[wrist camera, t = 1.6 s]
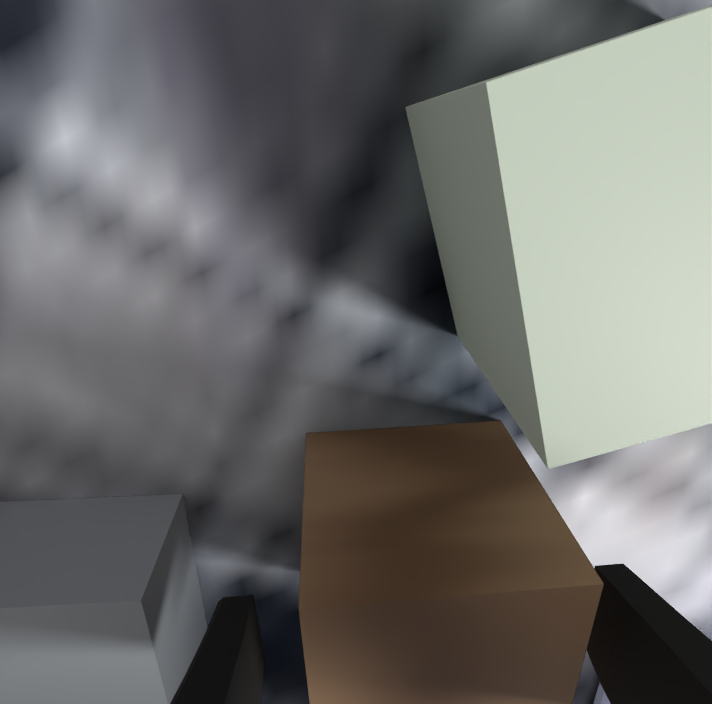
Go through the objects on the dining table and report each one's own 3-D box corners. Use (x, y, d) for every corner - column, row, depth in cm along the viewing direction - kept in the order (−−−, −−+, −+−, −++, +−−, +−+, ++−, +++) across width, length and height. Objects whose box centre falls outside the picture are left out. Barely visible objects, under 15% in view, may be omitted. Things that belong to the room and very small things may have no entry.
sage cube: (661, 21, 9) (1014, -95, 4) (666, 271, 11) (909, 367, 6) (404, 107, 9) (486, 82, 5) (456, 334, 11) (547, 469, 7)
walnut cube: (500, 418, 12) (603, 583, 8) (483, 559, 14) (559, 752, 10) (306, 431, 12) (298, 609, 8) (318, 572, 14) (318, 777, 10)
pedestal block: (185, 485, 13) (141, 601, 10) (219, 673, 16) (194, 805, 13) (-130, 498, 12) (-285, 623, 9) (-28, 689, 16) (-117, 830, 13)
